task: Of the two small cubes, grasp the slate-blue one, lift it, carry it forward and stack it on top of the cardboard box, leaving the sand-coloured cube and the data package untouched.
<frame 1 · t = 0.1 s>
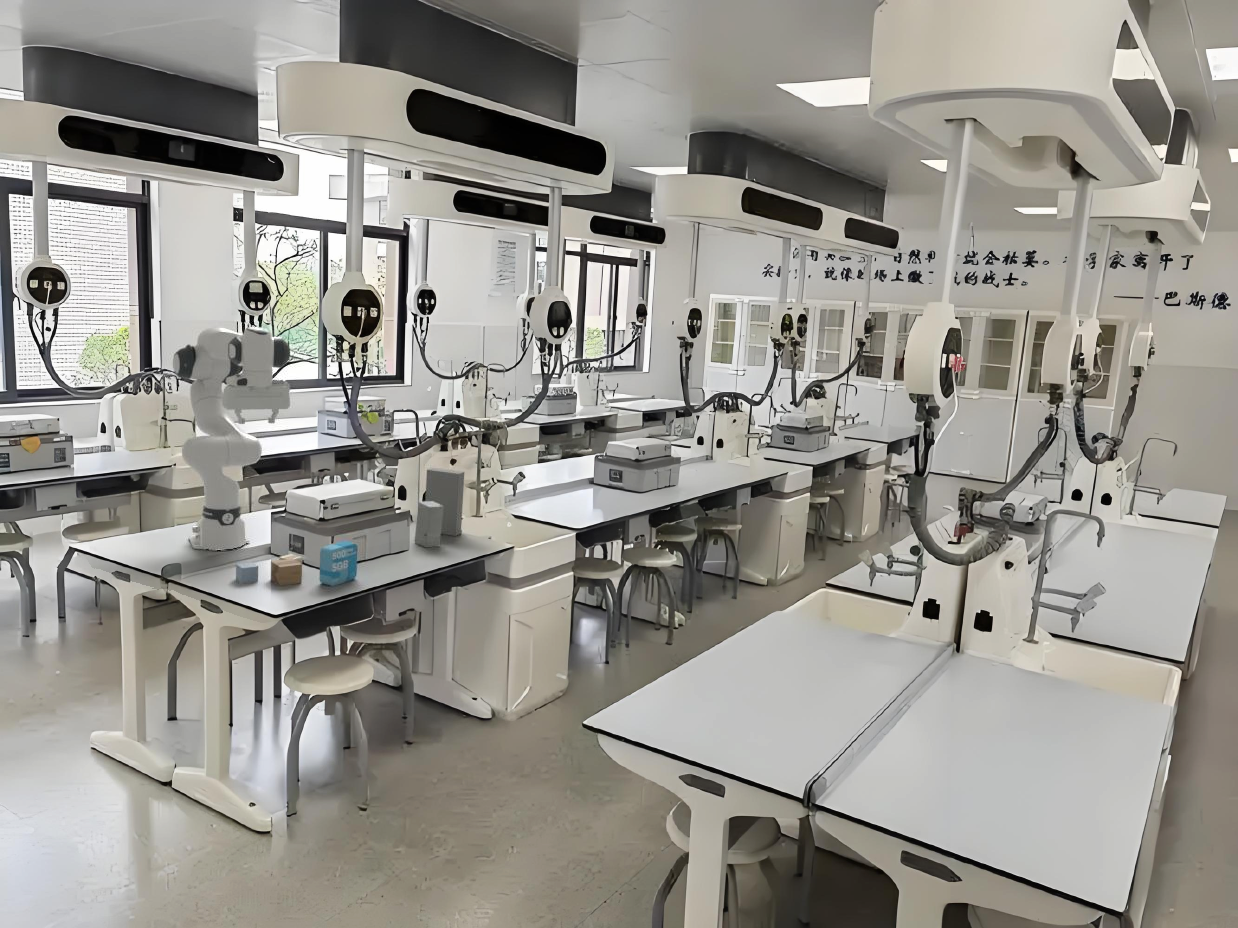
hand: (256, 423, 289), 48 cm above the table, fingers open, 8 cm apart
cardboard box: (286, 581, 288), on the table
sand block: (290, 571, 298), on the table
tall grey upright box: (442, 533, 363), on the table
skincare box: (428, 544, 344), on the table
data package: (338, 582, 292), on the table
slate-blue block: (246, 580, 286), on the table
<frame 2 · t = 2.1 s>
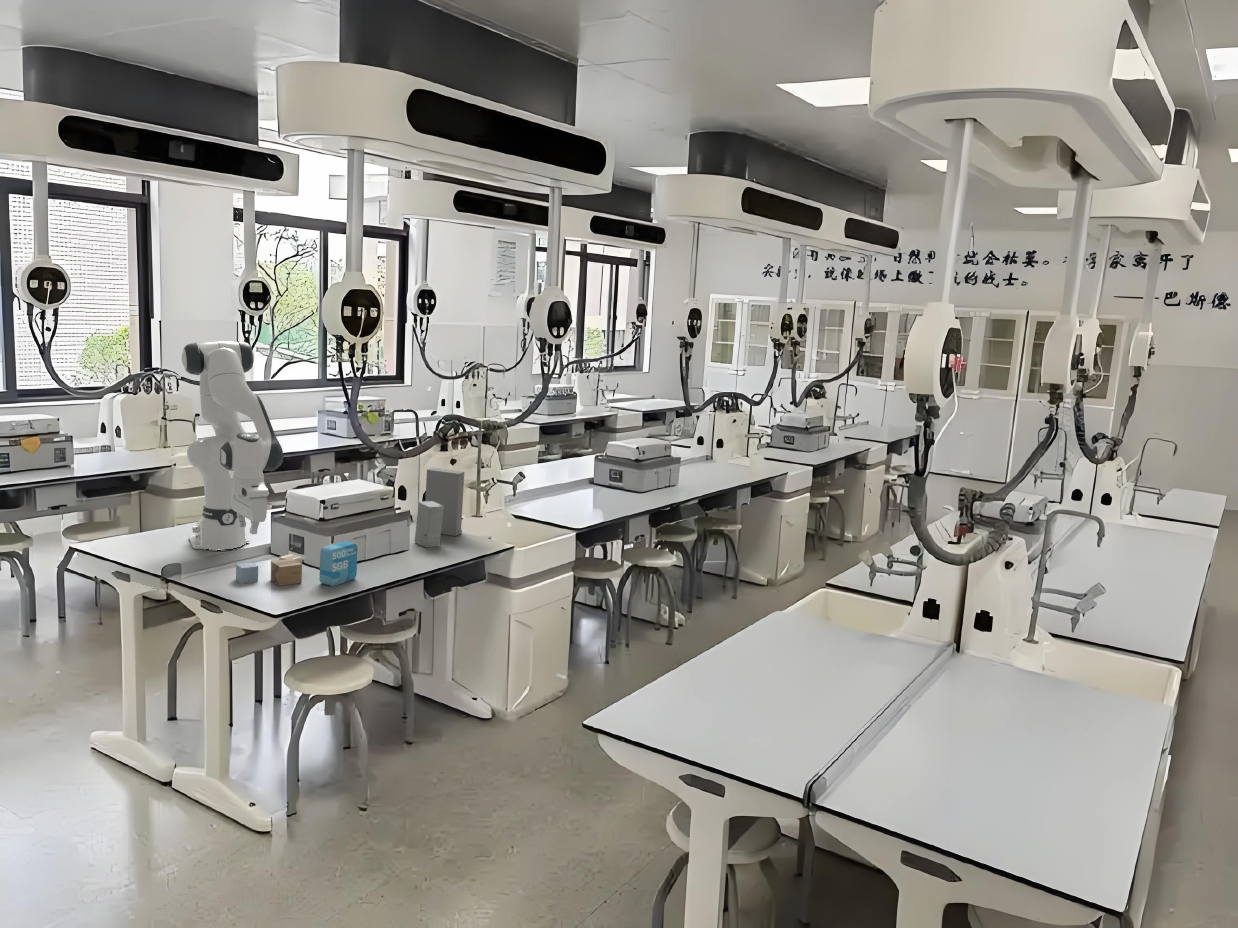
hand: (247, 530, 283), 16 cm above the table, fingers open, 8 cm apart
nothing on the table moved.
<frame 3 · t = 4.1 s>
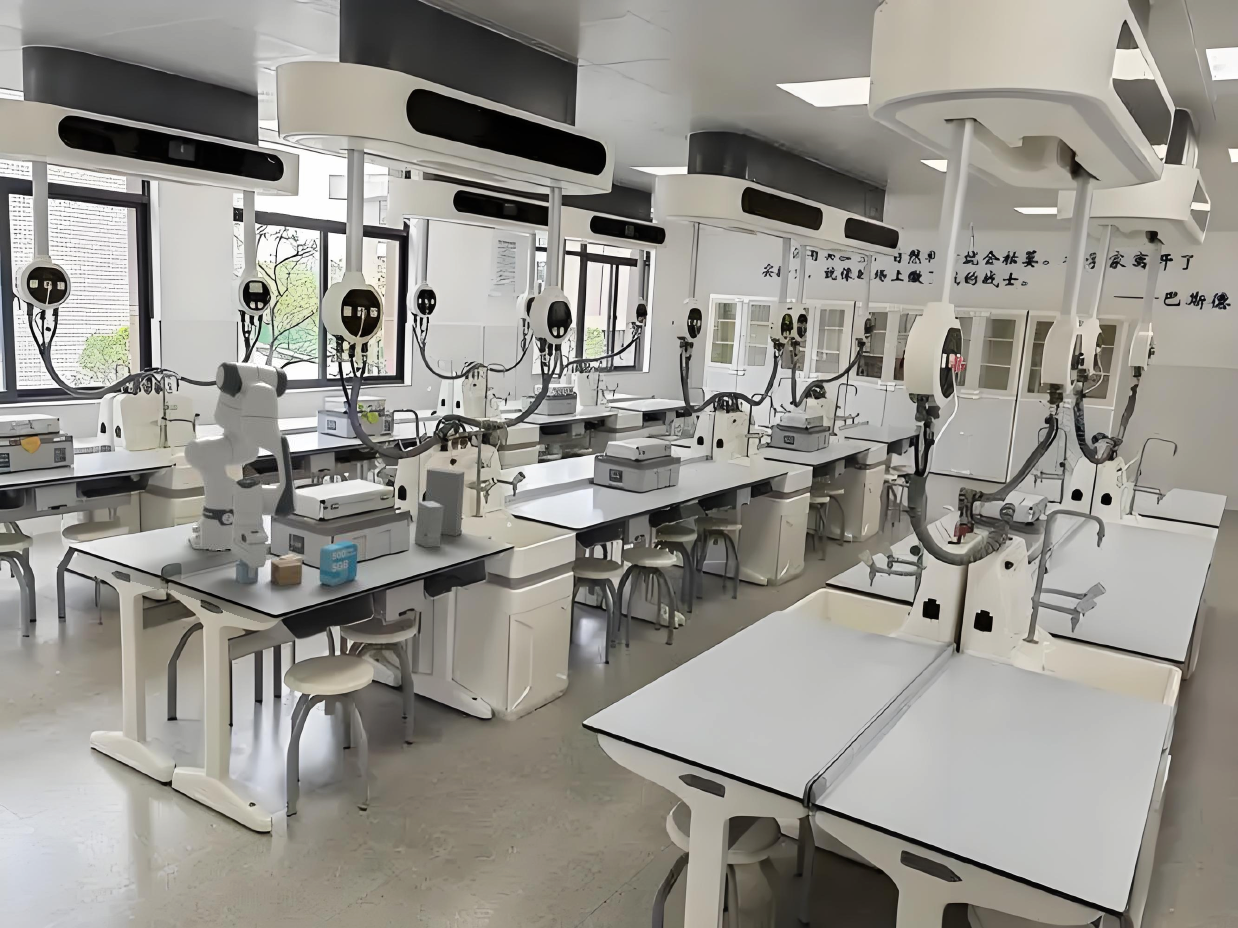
hand: (247, 574, 286), 2 cm above the table, fingers closed on slate-blue block, 5 cm apart
slate-blue block: (246, 580, 286), on the table, touching gripper
everything else where it was.
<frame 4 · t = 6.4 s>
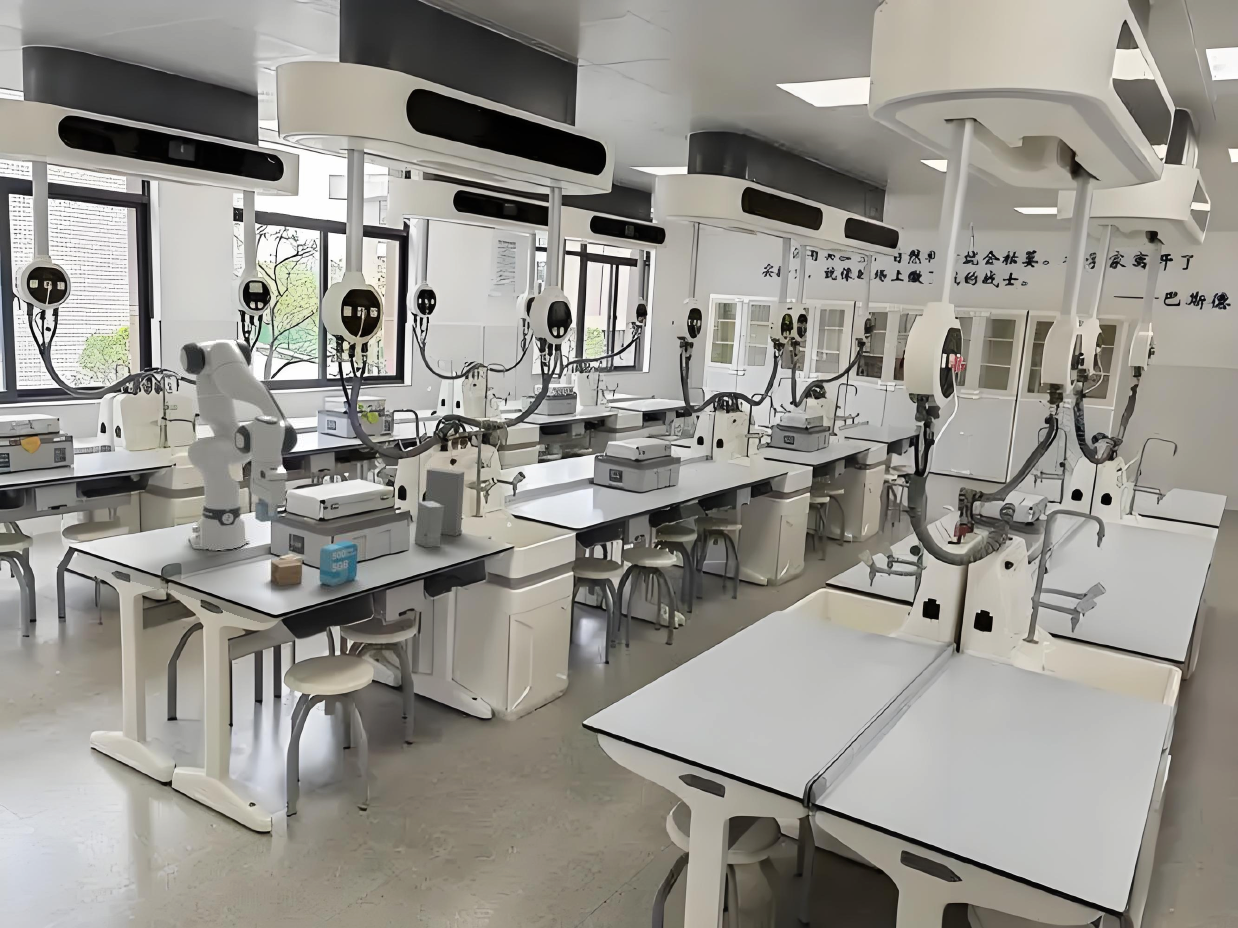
hand: (266, 513, 283), 22 cm above the table, fingers closed on slate-blue block, 5 cm apart
slate-blue block: (266, 519, 283), point 20 cm above the table, touching gripper
everything else where it was.
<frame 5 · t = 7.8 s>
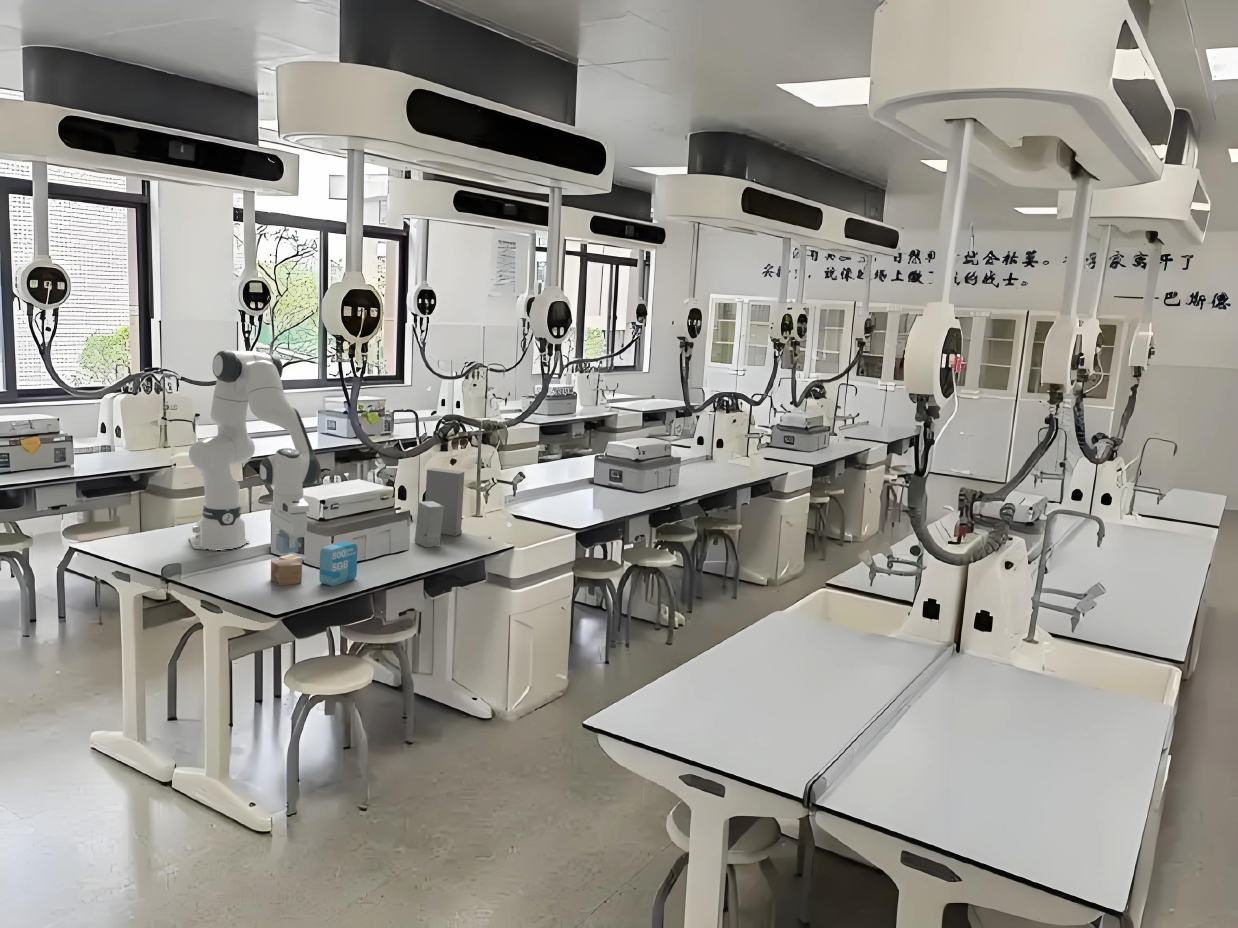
hand: (287, 544, 286), 12 cm above the table, fingers closed on slate-blue block, 5 cm apart
slate-blue block: (287, 550, 287), point 10 cm above the table, touching gripper
everything else where it was.
when the fingers open (9 cm above the table, at t = 8.8 s): slate-blue block stays where it is, resting on cardboard box.
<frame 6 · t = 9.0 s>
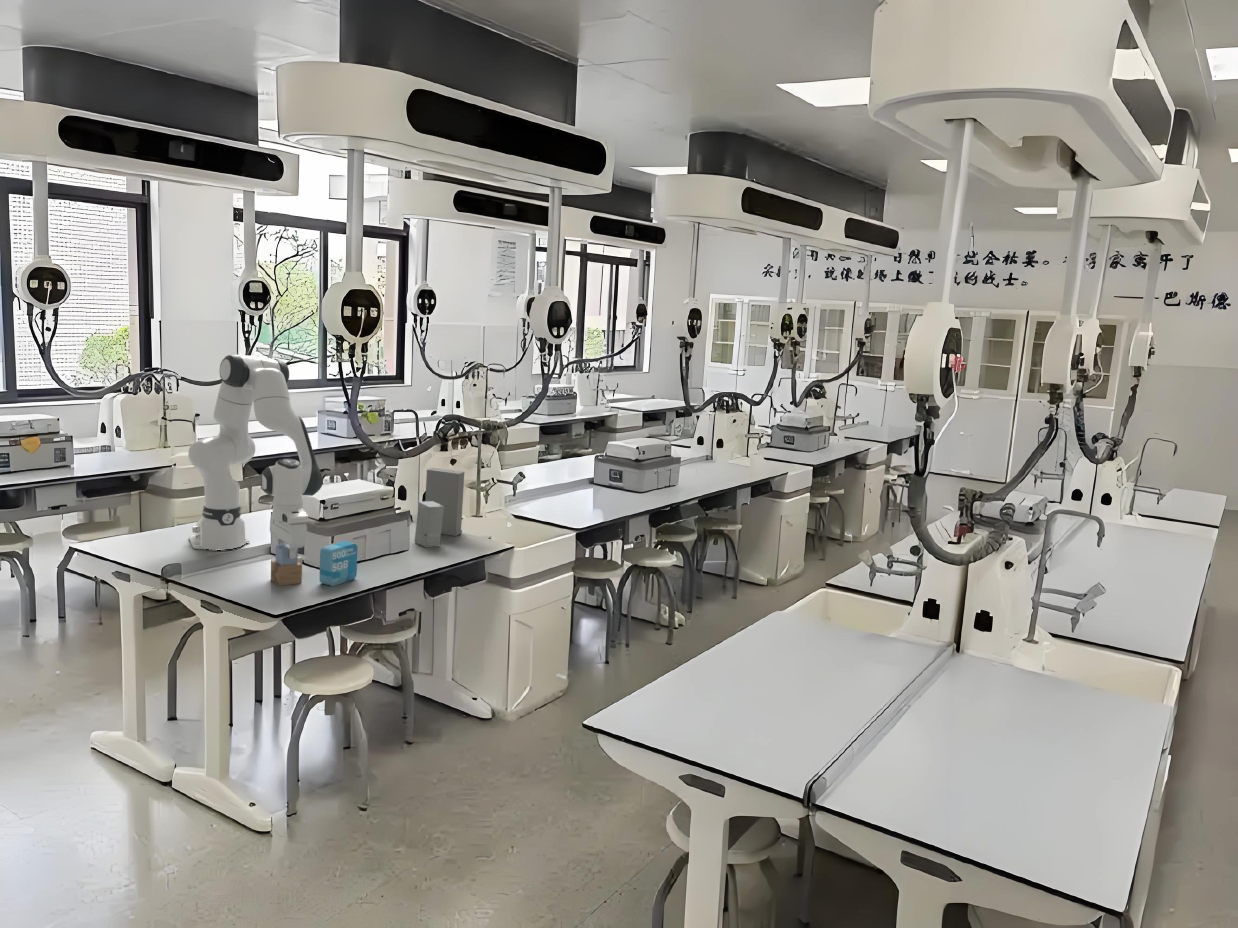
hand: (286, 554, 287), 9 cm above the table, fingers open, 6 cm apart
slate-blue block: (286, 562, 287), point 6 cm above the table, touching cardboard box
everything else where it was.
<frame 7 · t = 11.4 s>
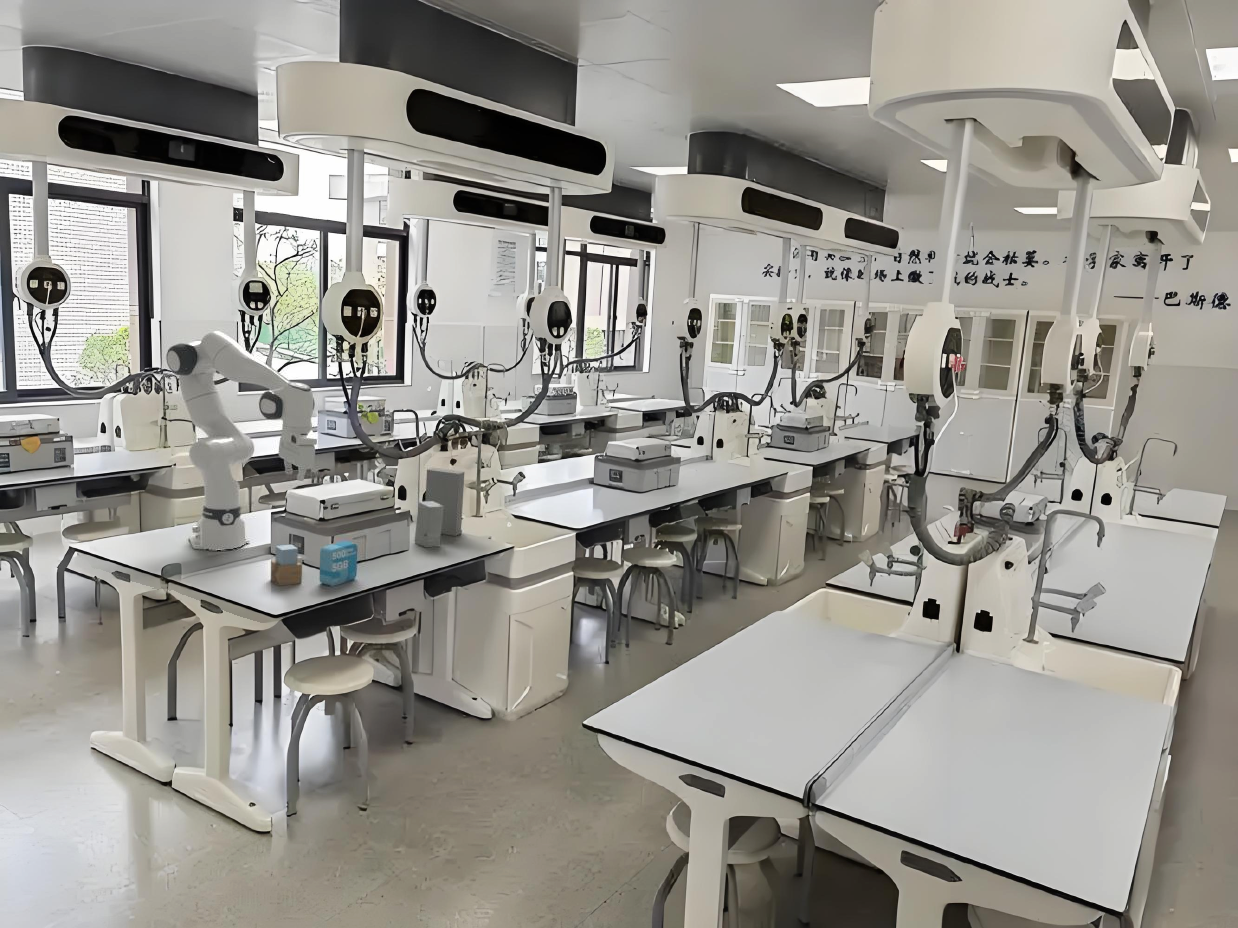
hand: (294, 477, 292), 31 cm above the table, fingers open, 8 cm apart
nothing on the table moved.
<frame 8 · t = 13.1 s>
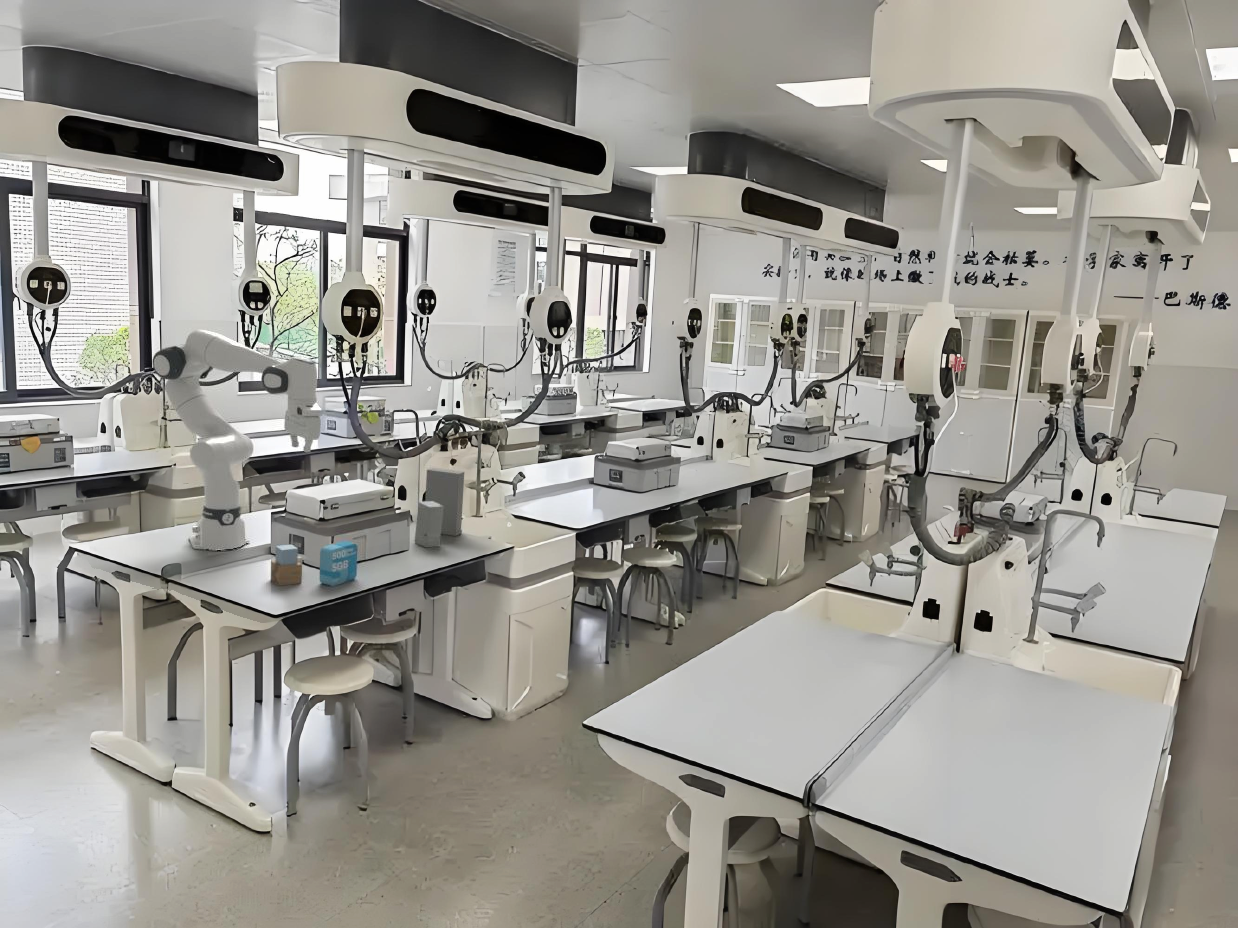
hand: (300, 449, 299), 39 cm above the table, fingers open, 8 cm apart
nothing on the table moved.
at the end: slate-blue block 0.1 cm off-centre on the cardboard box, point 6.0 cm above the cardboard box's base; slate-blue block tilted 0°; the gripper is holding nothing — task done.
